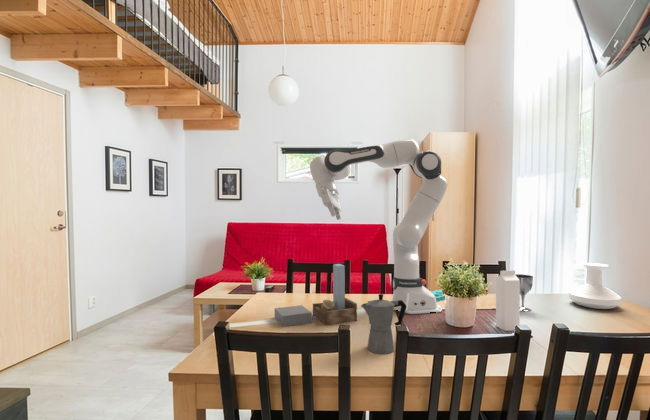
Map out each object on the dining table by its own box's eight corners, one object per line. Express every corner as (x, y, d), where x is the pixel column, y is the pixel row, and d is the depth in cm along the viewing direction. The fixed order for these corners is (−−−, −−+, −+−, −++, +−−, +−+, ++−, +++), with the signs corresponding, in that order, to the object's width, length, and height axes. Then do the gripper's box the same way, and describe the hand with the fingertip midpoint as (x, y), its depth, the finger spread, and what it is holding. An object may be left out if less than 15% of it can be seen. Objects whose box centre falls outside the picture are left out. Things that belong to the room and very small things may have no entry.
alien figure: (474, 304, 180) (463, 294, 200) (474, 299, 180) (463, 290, 200) (431, 303, 182) (424, 293, 202) (431, 298, 182) (424, 289, 201)
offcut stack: (327, 315, 160) (327, 298, 160) (335, 321, 152) (335, 303, 152) (321, 316, 159) (320, 299, 158) (328, 322, 151) (328, 303, 151)
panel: (339, 315, 160) (339, 263, 160) (344, 318, 156) (344, 265, 155) (333, 316, 159) (333, 264, 159) (338, 319, 155) (338, 266, 154)
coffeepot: (365, 356, 117) (365, 298, 117) (357, 345, 126) (357, 291, 126) (412, 352, 120) (412, 296, 120) (400, 341, 129) (400, 289, 129)
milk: (519, 330, 141) (520, 271, 140) (504, 331, 140) (505, 272, 140) (509, 325, 147) (510, 269, 146) (495, 325, 146) (496, 269, 146)
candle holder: (612, 314, 161) (613, 269, 160) (561, 304, 177) (561, 263, 176) (628, 307, 172) (628, 265, 172) (578, 298, 189) (579, 260, 188)
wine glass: (509, 308, 171) (509, 275, 171) (520, 305, 175) (520, 273, 174) (525, 312, 164) (525, 278, 164) (536, 310, 167) (537, 276, 167)
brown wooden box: (341, 311, 166) (341, 295, 166) (356, 320, 153) (356, 303, 153) (312, 315, 160) (312, 299, 160) (325, 325, 147) (325, 307, 147)
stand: (301, 314, 162) (301, 305, 162) (311, 322, 151) (311, 312, 151) (274, 317, 157) (274, 308, 157) (282, 326, 146) (282, 316, 146)
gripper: (327, 181, 162) (337, 210, 159) (338, 192, 182) (347, 218, 178) (314, 187, 163) (323, 216, 160) (326, 197, 183) (335, 223, 179)
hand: (336, 217), depth 169 cm, fingers open, 8 cm apart
